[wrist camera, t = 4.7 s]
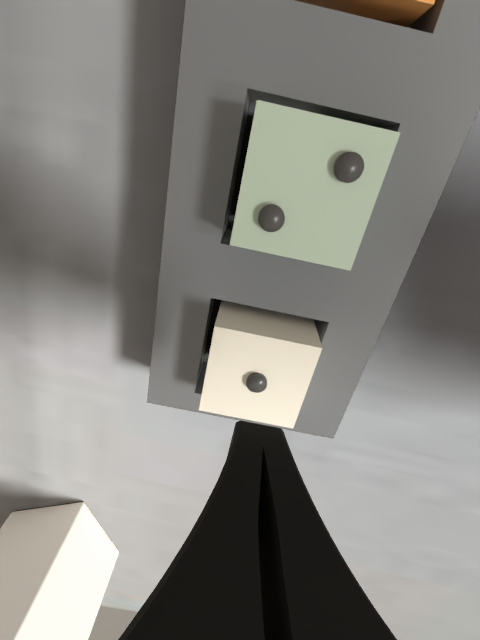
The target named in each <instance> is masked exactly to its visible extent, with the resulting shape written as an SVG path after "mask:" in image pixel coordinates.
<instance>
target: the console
mask: <svg viewBox="0 0 480 640" xmlns="http://www.w3.org/2000/svg"><path fill="white" fill-rule="evenodd" d="M250 100H254V101H257V100H260V101H265V102H269V103H274V104H278V105H282V106H287V107H291V108H295V109H300V110H304V111H308V112H313V113H317V114H322V115H326V116H330V117H335V118H339V119H343V120H348V121H352V122H356V123H361V124H365V125H370V126H374V127H378V128H383V129H387V130H391V131H396V132H400V136H399V139H398V141H397V144H396V147H395V150H394V152H393V155H392V158H391V161H390V163H389V166H388V169H387V172H386V174H385V177H384V180H383V183H382V185H381V188H380V191H379V194H378V197H377V199H376V202H375V205H374V208H373V210H372V213H371V216H370V219H369V221H368V224H367V227H366V230H365V232H364V235H363V238H362V241H361V243H360V246H359V249H358V252H357V254H356V257H355V260H354V263H353V265H352V268H351V271H349V270H344V269H340V268H335V267H330V266H325V265H321V264H316V263H311V262H307V261H302V260H297V259H293V258H288V257H283V256H278V255H274V254H269V253H264V252H260V251H255V250H250V249H246V248H241V247H236V246H232V245H230V240H231V235H232V230H227V225H228V220H229V214H230V209H231V203H232V197H233V192H234V186H235V181H236V175H237V170H238V164H239V158H240V153H241V147H242V142H243V136H244V131H245V125H246V119H247V114H248V108H249V103H250ZM479 108H480V0H435V3H434V5H433V6H432V7H431V8H429V9H428V10H427V11H426V12H425V13H424V14H422V15H421V16H420V17H419V18H418V19H417V20H415V21H414V22H413V23H412V24H411V25H410V28H407V27H403V26H399V25H395V24H391V23H386V22H382V21H378V20H374V19H370V18H366V17H362V16H357V15H353V14H349V13H345V12H341V11H337V10H332V9H328V8H324V7H320V6H316V5H312V4H308V3H303V2H299V1H295V0H186V2H185V12H184V22H183V33H182V43H181V54H180V64H179V75H178V85H177V96H176V106H175V116H174V127H173V137H172V148H171V158H170V169H169V179H168V189H167V200H166V210H165V221H164V231H163V242H162V252H161V263H160V273H159V283H158V294H157V304H156V315H155V325H154V336H153V346H152V357H151V367H150V377H149V388H148V398H147V403H152V404H158V405H163V406H168V407H173V408H178V409H183V410H188V411H194V412H199V413H204V414H209V415H214V416H219V417H224V418H230V419H235V420H240V421H246V422H251V423H256V424H261V425H267V426H272V427H277V428H281V429H286V430H291V431H297V432H302V433H307V434H312V435H317V436H322V437H327V438H334V436H335V434H336V431H337V429H338V427H339V424H340V422H341V420H342V418H343V415H344V413H345V411H346V409H347V406H348V404H349V402H350V400H351V397H352V395H353V393H354V391H355V388H356V386H357V384H358V382H359V379H360V377H361V375H362V373H363V370H364V368H365V366H366V364H367V361H368V359H369V357H370V354H371V352H372V350H373V348H374V345H375V343H376V341H377V339H378V336H379V334H380V332H381V330H382V327H383V325H384V323H385V321H386V318H387V316H388V314H389V312H390V309H391V307H392V305H393V303H394V300H395V298H396V296H397V293H398V291H399V289H400V287H401V284H402V282H403V280H404V278H405V275H406V273H407V271H408V269H409V266H410V264H411V262H412V260H413V257H414V255H415V253H416V251H417V248H418V246H419V244H420V242H421V239H422V237H423V235H424V232H425V230H426V228H427V226H428V223H429V221H430V219H431V217H432V214H433V212H434V210H435V208H436V205H437V203H438V201H439V199H440V196H441V194H442V192H443V190H444V187H445V185H446V183H447V181H448V178H449V176H450V174H451V172H452V169H453V167H454V165H455V162H456V160H457V158H458V156H459V153H460V151H461V149H462V147H463V144H464V142H465V140H466V138H467V135H468V133H469V131H470V129H471V126H472V124H473V122H474V120H475V117H476V115H477V113H478V111H479ZM214 299H219V300H223V301H228V302H233V303H238V304H243V305H248V306H252V307H257V308H262V309H267V310H272V311H277V312H281V313H286V314H291V315H296V316H301V317H306V318H311V319H314V323H315V326H316V329H317V332H318V336H319V339H320V342H321V345H322V351H321V353H320V356H319V359H318V362H317V365H316V367H315V370H314V373H313V376H312V378H311V381H310V384H309V387H308V389H307V392H306V395H305V398H304V400H303V403H302V406H301V409H300V411H299V414H298V417H297V420H296V422H295V425H294V428H293V429H292V428H287V427H282V426H277V425H272V424H267V423H262V422H256V421H251V420H246V419H241V418H236V417H231V416H226V415H220V414H215V413H210V412H205V411H200V410H199V406H200V401H201V395H202V390H203V385H204V379H205V374H206V369H207V363H203V359H204V354H205V348H206V343H207V337H208V331H209V326H210V320H211V315H212V309H213V303H214Z"/></svg>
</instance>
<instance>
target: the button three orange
mask: <svg viewBox="0 0 480 640" xmlns="http://www.w3.org/2000/svg"><path fill="white" fill-rule="evenodd" d="M295 1H299V2H303V3H308V4H312V5H316V6H320V7H324V8H328V9H332V10H337V11H341V12H345V13H349V14H353V15H357V16H362V17H366V18H370V19H374V20H378V21H382V22H386V23H391V24H395V25H399V26H403V27H408V26H410V25H411V24H412V23H413V22H414V21H415V20H417V19H418V18H419V17H420V16H421V15H422V14H424V13H425V12H426V11H427V10H428V9H429V8H431V7H432V6H433V5H434V3H435V0H295Z"/></svg>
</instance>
